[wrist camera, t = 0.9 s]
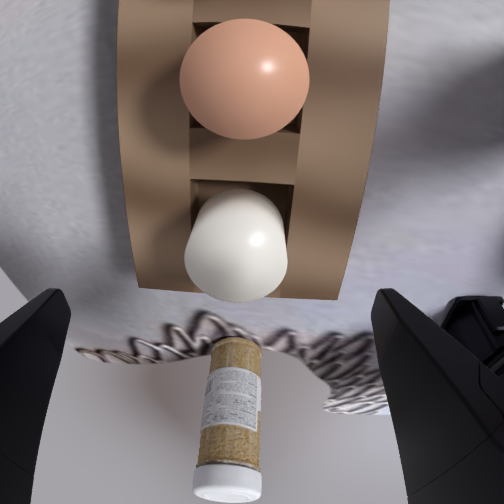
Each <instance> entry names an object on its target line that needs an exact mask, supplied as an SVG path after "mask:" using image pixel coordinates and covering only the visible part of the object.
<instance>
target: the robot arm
mask: <svg viewBox="0 0 504 504" xmlns="http://www.w3.org/2000/svg"><path fill="white" fill-rule="evenodd" d="M503 303H504V300H503V298H502V297H459V298H457V299H456V301H455V302H454V304H453V306H452V308H451V310H450V312H449V314H448V316H447V318H446V319H445V321H444V323H443V325H442V327H440V326H439V325H437V324H436V323H435V322H434V321H433V320H431V319H430V318H429V317H428V316H427V315H425V314H424V313H423V312H422V311H420V310H419V309H418V308H417V307H416V306H414V305H413V304H412V303H411V302H409V301H408V300H407V299H406V298H404V297H403V296H402V295H401V294H399V293H398V292H397V291H396V290H394V289H392V288H385V289H379V290H378V291H377V294H376V297H375V301H374V304H373V307H372V311H371V321H372V327H373V333H374V339H375V345H376V351H377V358H378V363H379V368H380V373H381V376H382V380H383V384H384V388H385V392H386V396H387V400H388V404H389V408H390V413H391V417H392V421H393V425H394V430H395V434H396V439H397V444H398V449H399V454H400V458H401V464H402V469H403V474H404V480H405V485H406V491H407V496H408V498H407V499H408V504H504V309H503V307H502V305H503ZM70 318H71V310H70V307H69V305H68V303H67V301H66V298H65V296H64V294H63V292H62V291H61V290H60V289H57V288H49V289H47V290H45V291H44V292H43V293H41V294H40V295H38V296H37V297H35V298H34V299H33V300H31V301H30V302H28V303H27V304H26V305H24V306H23V307H21V308H20V309H19V310H17V311H16V312H14V313H13V314H12V315H10V316H9V317H8V318H6V319H5V320H4V321H2V322H1V323H0V504H30V503H31V495H32V486H33V480H34V472H35V466H36V461H37V455H38V449H39V445H40V440H41V435H42V430H43V426H44V421H45V417H46V413H47V409H48V404H49V401H50V397H51V393H52V389H53V386H54V382H55V378H56V375H57V372H58V368H59V365H60V361H61V357H62V353H63V348H64V344H65V339H66V335H67V330H68V326H69V322H70Z"/></svg>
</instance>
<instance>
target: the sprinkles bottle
mask: <svg viewBox="0 0 504 504" xmlns="http://www.w3.org/2000/svg"><path fill="white" fill-rule="evenodd" d="M211 358H212V359H211V366H210V373H209V377H208V380H207V387H206V394H205V402H204V410H203V417H202V425H201V439H200V449H199V456H198V464H197V465H196V469H195V470H194V477H193V492H194V494H195V495H197V496H199V497H201V498H204V499H207V500H212V501H217V502H228V503H243V502H250V501H254V500H257V499H258V498H259V497H260V496H261V486H262V484H261V483H262V476H261V474H260V473H259V472H260V468H259V451H260V447H259V446H260V443H259V441H260V414H261V380H260V371H261V367H260V366H261V359H262V353H261V350H260V348H259V347H258V346H257V345H256V344H255V343H254V342H252V341H250V340H248V339H244V338H240V337H228V338H225V339H221V340H220V341H218V342H216V343H215V344H214V345H213V347H212V349H211Z"/></svg>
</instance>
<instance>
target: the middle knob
mask: <svg viewBox="0 0 504 504" xmlns="http://www.w3.org/2000/svg"><path fill="white" fill-rule="evenodd" d="M180 89H181V94H182V97H183V100H184V103H185V105H186V107H187V108H188V110H189V111H190V113H191V114H192V116H193V117H194V118H195V119H196V120H197V121H198V122H199V123H200V124H201V125H203V126H204V127H205V128H207V129H208V130H210V131H212V132H214V133H216V134H218V135H221V136H224V137H228V138H232V139H240V140H245V139H257V138H261V137H265V136H268V135H270V134H273V133H275V132H277V131H278V130H280V129H282V128H283V127H285V126H286V125H287V124H288V123H289V122H291V121H292V120H293V119H294V117H295V116H296V115H297V114H298V113H299V111H300V109H301V108H302V106H303V104H304V102H305V100H306V97H307V94H308V89H309V68H308V65H307V61H306V58H305V56H304V54H303V52H302V50H301V49H300V47H299V45H298V44H297V43H296V42H295V40H294V39H293V38H292V37H291V36H289V35H288V34H287V33H286V32H284V31H283V30H282V29H280V28H278V27H276V26H275V25H272V24H270V23H267V22H264V21H260V20H255V19H235V20H229V21H226V22H222V23H220V24H217V25H215V26H213V27H211V28H209V29H208V30H206V31H205V32H204V33H202V34H201V35H200V36H199V37H198V38H197V39H196V40H195V41H194V42H193V43H192V45H191V46H190V47H189V49H188V51H187V52H186V54H185V56H184V59H183V62H182V65H181V69H180Z"/></svg>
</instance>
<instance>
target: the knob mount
mask: <svg viewBox="0 0 504 504" xmlns="http://www.w3.org/2000/svg"><path fill="white" fill-rule="evenodd" d="M389 2H390V0H119V9H118V29H117V105H118V127H119V142H120V155H121V167H122V177H123V187H124V196H125V204H126V212H127V219H128V226H129V233H130V240H131V246H132V253H133V259H134V264H135V270H136V276H137V281H138V286H139V288H149V289H160V290H172V291H184V292H197V293H204V292H203V291H202V290H200V289H199V288H198V287H197V286H196V285H195V284H194V283H193V281H192V280H191V278H190V277H189V275H188V273H187V270H186V267H185V261H184V255H185V249H186V246H187V243H188V240H189V238H190V235H191V232H192V229H193V227H194V224H195V221H196V219H197V216H198V213H199V211H200V209H201V207H202V206H203V205H204V203H205V202H206V201H207V200H208V199H210V198H211V197H212V196H214V195H215V194H217V193H219V192H222V191H225V190H229V189H248V190H252V191H255V192H258V193H260V194H262V195H264V196H265V197H267V198H268V199H269V200H270V201H272V202H273V203H274V205H275V206H276V207H277V209H278V210H279V212H280V214H281V217H282V220H283V226H284V234H285V243H286V251H287V261H288V263H287V270H286V274H285V276H284V278H283V280H282V282H281V283H280V284H279V286H278V287H277V288H276V289H275V290H274V291H272V292H271V293H270V294H268V295H266V296H264V297H275V298H296V299H320V300H337V299H338V295H339V292H340V288H341V284H342V281H343V277H344V273H345V270H346V266H347V262H348V258H349V254H350V250H351V246H352V242H353V238H354V234H355V230H356V225H357V221H358V217H359V212H360V208H361V203H362V198H363V194H364V189H365V184H366V179H367V174H368V169H369V163H370V158H371V153H372V147H373V141H374V135H375V129H376V123H377V117H378V110H379V103H380V96H381V88H382V80H383V72H384V63H385V54H386V43H387V32H388V18H389ZM235 19H255V20H260V21H264V22H267V23H270V24H272V25H275V26H276V27H278V28H280V29H282V30H283V31H284V32H286V33H287V34H288V35H289V36H291V37H292V38H293V39H294V40H295V42H296V43H297V44H298V45H299V47H300V49H301V50H302V52H303V54H304V56H305V58H306V61H307V65H308V68H309V89H308V94H307V97H306V100H305V102H304V104H303V106H302V108H301V109H300V111H299V113H298V114H297V115H296V116H295V117H294V119H293V120H292V121H291V122H289V123H288V124H287V125H286V126H285V127H283V128H282V129H280V130H278V131H277V132H275V133H273V134H270V135H268V136H265V137H261V138H257V139H245V140H240V139H232V138H228V137H224V136H221V135H218V134H216V133H214V132H212V131H210V130H208V129H207V128H205V127H204V126H203V125H201V124H200V123H199V122H198V121H197V120H196V119H195V118H194V117H193V116H192V114H191V113H190V111H189V110H188V108H187V107H186V105H185V103H184V100H183V97H182V94H181V89H180V69H181V65H182V62H183V59H184V56H185V54H186V52H187V51H188V49H189V47H190V46H191V45H192V43H193V42H194V41H195V40H196V39H197V38H198V37H199V36H200V35H201V34H202V33H204V32H205V31H206V30H208V29H209V28H211V27H213V26H215V25H217V24H220V23H222V22H226V21H229V20H235Z"/></svg>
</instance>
